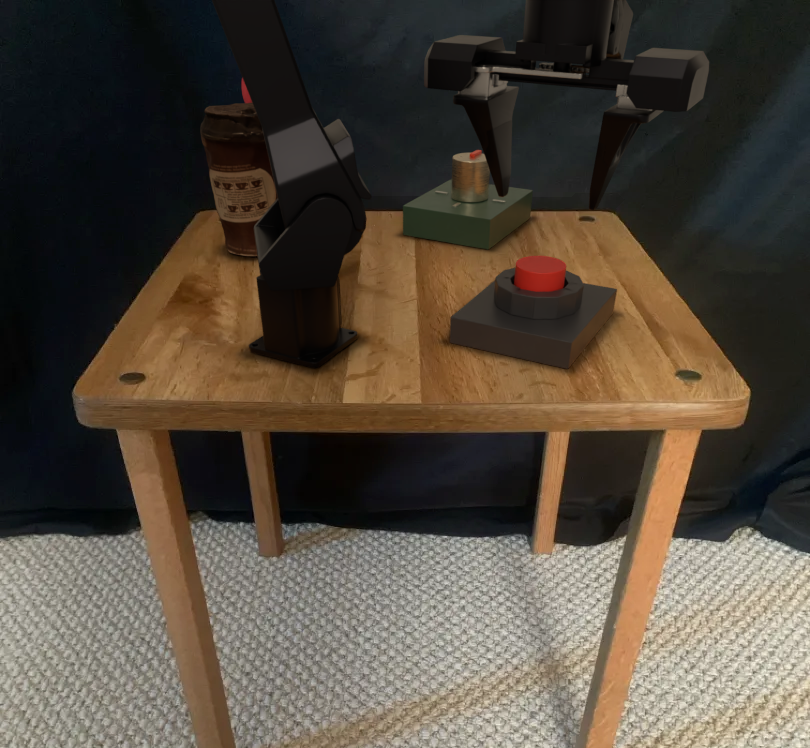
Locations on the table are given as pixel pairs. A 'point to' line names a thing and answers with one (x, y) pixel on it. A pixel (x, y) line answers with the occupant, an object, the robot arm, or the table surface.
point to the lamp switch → (534, 319)
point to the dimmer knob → (470, 177)
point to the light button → (540, 273)
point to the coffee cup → (238, 172)
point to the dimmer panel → (466, 216)
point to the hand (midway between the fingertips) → (547, 202)
